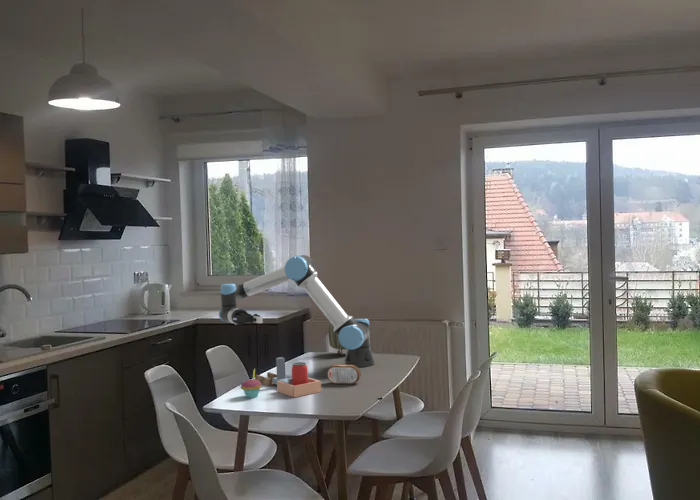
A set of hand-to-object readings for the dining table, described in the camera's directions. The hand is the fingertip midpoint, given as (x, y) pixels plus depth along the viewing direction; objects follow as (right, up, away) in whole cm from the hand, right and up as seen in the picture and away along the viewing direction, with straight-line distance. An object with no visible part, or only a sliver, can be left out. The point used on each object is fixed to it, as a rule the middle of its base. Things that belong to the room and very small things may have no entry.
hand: (261, 320), depth 293 cm
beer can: (+20, -28, -25) cm, 42 cm away
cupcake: (0, -29, -29) cm, 41 cm away
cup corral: (+19, -27, -24) cm, 42 cm away
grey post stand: (+13, -28, -16) cm, 34 cm away
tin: (+38, -27, -13) cm, 48 cm away
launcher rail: (+5, -28, -5) cm, 29 cm away
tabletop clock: (+37, -25, +57) cm, 72 cm away
